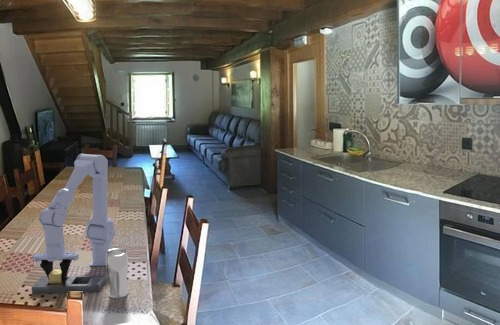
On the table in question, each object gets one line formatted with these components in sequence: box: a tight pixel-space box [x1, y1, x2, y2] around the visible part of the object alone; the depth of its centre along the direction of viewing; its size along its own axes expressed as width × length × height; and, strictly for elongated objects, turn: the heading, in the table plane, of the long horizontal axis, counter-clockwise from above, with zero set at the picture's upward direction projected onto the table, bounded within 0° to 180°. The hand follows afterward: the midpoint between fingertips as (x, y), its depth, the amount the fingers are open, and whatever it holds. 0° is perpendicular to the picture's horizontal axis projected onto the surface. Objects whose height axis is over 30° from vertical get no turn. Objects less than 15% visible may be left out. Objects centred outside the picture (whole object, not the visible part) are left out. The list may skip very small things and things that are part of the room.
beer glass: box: [105, 248, 129, 300], centre depth 133 cm, size 7×7×15 cm
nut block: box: [49, 268, 66, 285], centre depth 138 cm, size 4×4×6 cm
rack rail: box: [31, 274, 107, 295], centre depth 139 cm, size 8×22×2 cm, turn 94°
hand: (57, 280), depth 138 cm, fingers closed on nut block, 4 cm apart
